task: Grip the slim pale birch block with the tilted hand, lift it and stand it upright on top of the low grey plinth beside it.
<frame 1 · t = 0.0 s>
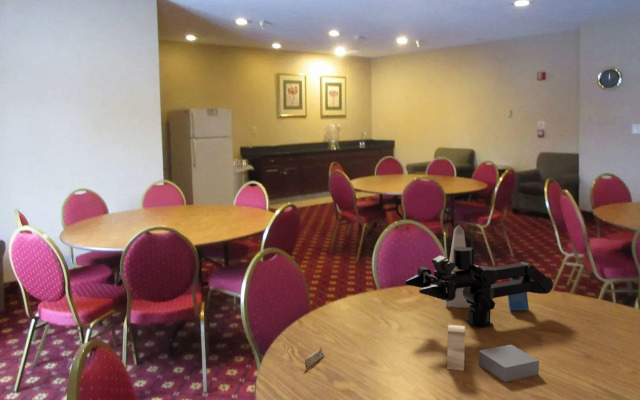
hand: (412, 286, 165), 16 cm above the table, tool horizontal, fingers open, 9 cm apart
miniature monument: (457, 303, 196), on the table
snack bar: (314, 363, 150), on the table
perfume bottle: (518, 308, 187), point 1 cm above the table, touching arm
plinth: (507, 369, 143), on the table
birch block: (455, 366, 146), on the table
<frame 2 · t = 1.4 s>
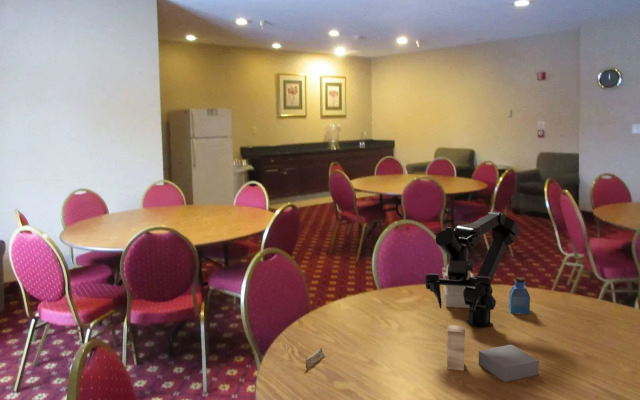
hand: (456, 309, 152), 14 cm above the table, tool tilted 45°, fingers open, 9 cm apart
perfume bottle: (519, 311, 187), on the table
everything else where it was.
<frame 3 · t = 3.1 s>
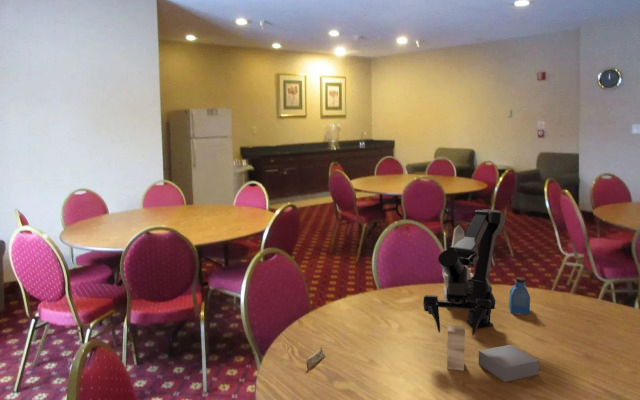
hand: (456, 333, 146), 9 cm above the table, tool tilted 45°, fingers open, 9 cm apart
nothing on the table moved.
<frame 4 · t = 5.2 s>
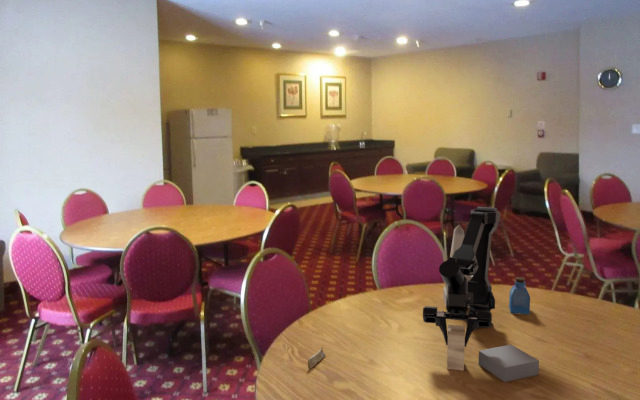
hand: (456, 345, 144), 7 cm above the table, tool tilted 45°, fingers closed on birch block, 4 cm apart
birch block: (455, 365, 146), on the table, touching gripper
everything else where it was.
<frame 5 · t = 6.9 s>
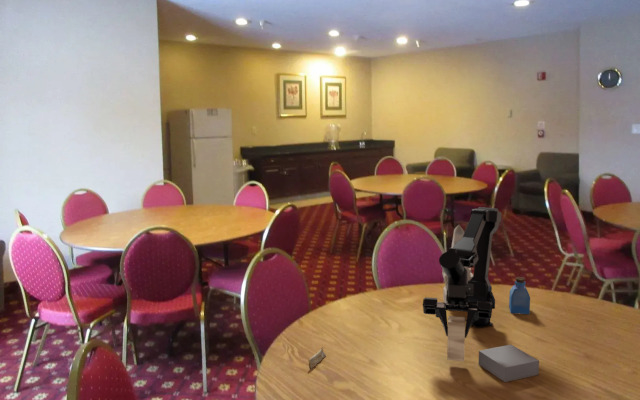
hand: (456, 336, 143), 9 cm above the table, tool tilted 45°, fingers closed on birch block, 4 cm apart
birch block: (455, 357, 146), point 3 cm above the table, touching gripper
everything else where it was.
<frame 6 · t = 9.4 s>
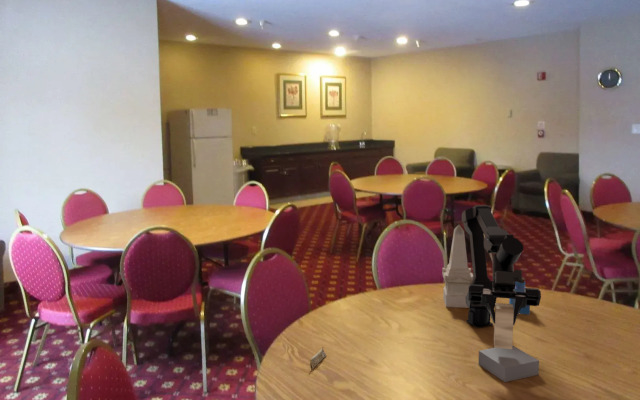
hand: (504, 323, 140), 14 cm above the table, tool tilted 45°, fingers closed on birch block, 4 cm apart
birch block: (502, 345, 143), point 7 cm above the table, touching gripper
everything else where it was.
when the fingers open (12 cm above the table, at t = 10.8 s): birch block drops 1 cm, resting on plinth.
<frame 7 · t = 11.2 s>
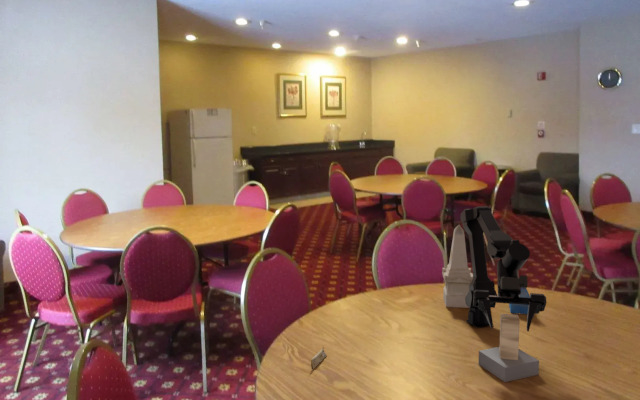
hand: (509, 329, 140), 12 cm above the table, tool tilted 45°, fingers open, 9 cm apart
birch block: (508, 355, 143), point 4 cm above the table, touching plinth
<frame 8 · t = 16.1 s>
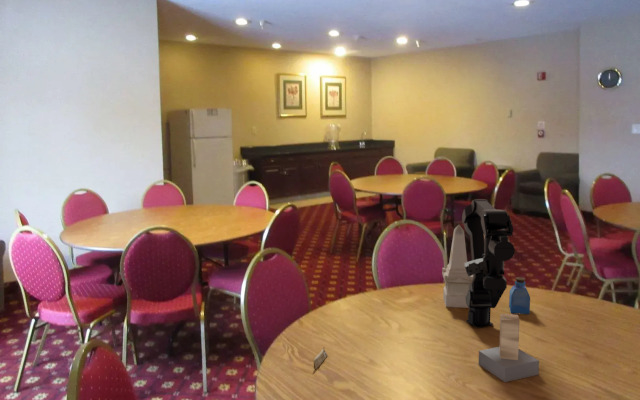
hand: (492, 302, 159), 13 cm above the table, tool pointing down, fingers open, 9 cm apart
at the end: birch block inside the target area on the plinth (0.1 cm from its centre), point 4.0 cm above the plinth's base; birch block tilted 0°; the gripper is holding nothing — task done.
